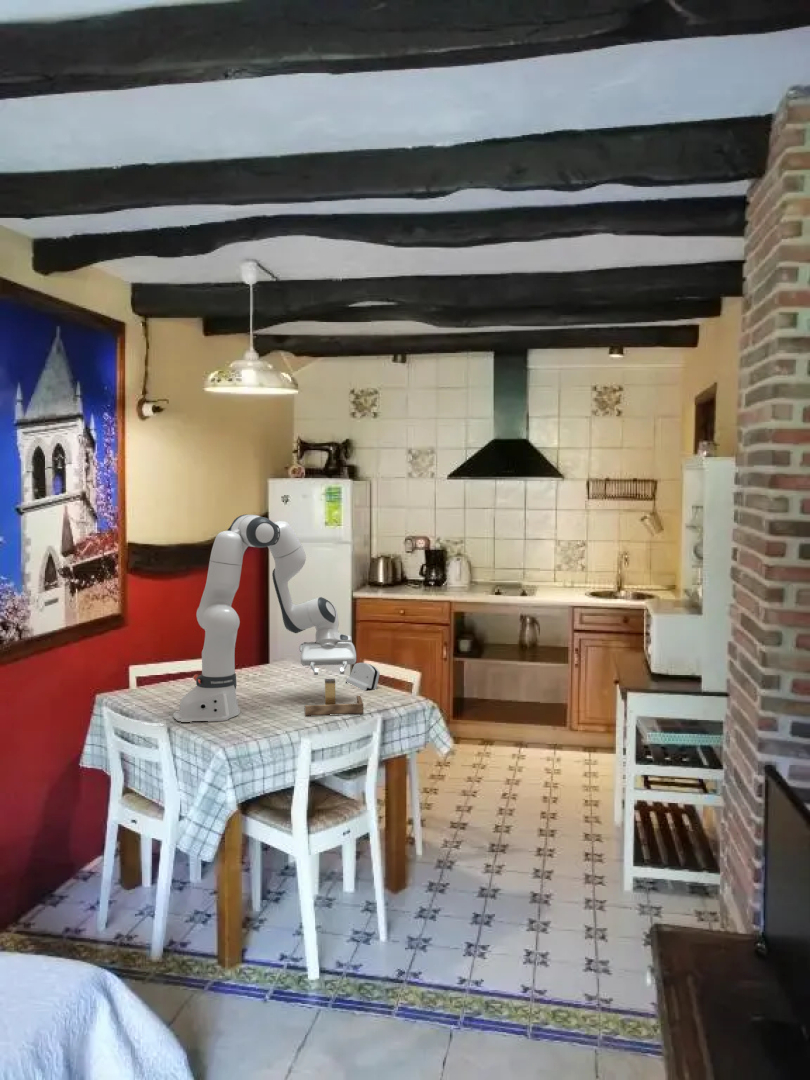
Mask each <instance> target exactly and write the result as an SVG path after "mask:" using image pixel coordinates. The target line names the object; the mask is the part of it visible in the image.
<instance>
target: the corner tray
mask: <svg viewBox="0 0 810 1080" xmlns="http://www.w3.org/2000/svg"><path fill="white" fill-rule="evenodd" d="M304 707H305V708H304V714H305V715H304V716H305V717H312V716H311V715H330V714H354V715H363V714H364V701H363V700H362V697H361V695H356V703H339V704H337V703H335V704H333V705H325V704H316V705H315V704H314V705H313V704H311V705H310V704H309V705H304ZM362 713H363V714H362ZM330 716H331V715H330Z"/></svg>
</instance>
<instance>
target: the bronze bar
mask: <svg viewBox="0 0 810 1080" xmlns="http://www.w3.org/2000/svg"><path fill="white" fill-rule="evenodd" d="M333 704H336V679H335V678H325V679H324V705H333Z"/></svg>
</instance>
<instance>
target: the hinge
mask: <svg viewBox="0 0 810 1080" xmlns="http://www.w3.org/2000/svg"><path fill="white" fill-rule="evenodd" d="M379 678H380V670H378V668H376V667H375V666H374V665H373V664H370V663H367V662H357V663H356V662H355V664H353V667H352V669H351V672H350V674H349V676H348V677H346V679H345V683H346V682H348V683H350V684H352V685H354V686H356V687H358V688H357V689H359V688H360V689H359V690H361V691H363V690H364V692H367V689H372V690H375V689H376V690H377V688H378V683H379ZM352 685H351V686H352ZM354 686H353V687H354ZM356 687H355V688H356ZM376 690H375V691H376Z"/></svg>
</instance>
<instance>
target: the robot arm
mask: <svg viewBox="0 0 810 1080" xmlns="http://www.w3.org/2000/svg"><path fill="white" fill-rule="evenodd" d="M248 547H251V548H252V547H253V548H268V550H270V554H271V556H272V558H273V560H274V565H275V566H274V569H272V581H273V586H274V589H275V593H276V597H277V599H278V600H277V601H278V604H279V607H280V608H279V609H280V611H281V616H282V621H283V625H284V627H285V629H286V630H287V631H289V632H291V633H293V634H298V633H301V632H304V631H305V630H307V629H311V628H313V627H315V631H316V632H315V641H310V642H308V641H306V642H305V641H304V642H303V643H301V644H299V648H298V649H299V652H300V664H301V665H302V666H304V667H305V666H307V667H308V666H309V667H310V669H311V671H313V676H318V675H319V668H316V666H342V667H339V674H340V675H345V670H346V669H347V667H348V665H354V664H356V662H357V651H356V647H355V644H354V643H353V642H352V636H351V635H348V634H343V633H341V632H340V631H339V626H340V625H339V624H340V623H339V615H338V610H337V607H336V606H335V604H334V603H332V602H331V601H329V600H328V599H326V598H325V597H322V596H320V597H316V598H313V599H310V600H308V601H307V600H306V601H304V602H302V603H299V604H294V603H293V599H292V597H291V596H292V595H291V593H290V589H289V586H288V583H289V582H290V581H291V580H292V578H293V577H295V576H296V575H297V574H298V573H300V571H301V570H302V569H303V567H304V566H305V564H306V561H307V557H306V553H305V548H304V547H303V545H302V543H301V540H300V539H299V537H298V535H297V533H296V531H294V529H293V527H292V526H291V525H290V524H289V522H287V521H284V520H278V521H275V522H273V521H272V520H270V519H269V518H267V517H265V516H264V517H263V516H260V515H257V514H247V513H246V514H241V515H239V516H237V517H236V518H235V519H234V520H233V521H232V523H231V525H230V526H229V527H228V529H227V530H224V531H220V532H219V533H218V534H217V535H216V537H215V539H214V542H213V544H212V548H211V552H210V558H209V563H208V570H207V577H206V581H205V582H206V583H205V585H204V586H205V587H204V589H203V593H202V596H201V599H200V602H199V606H198V607H197V609H196V614H195V615H196V620H197V622H198V625H199V626H200V628H202V629H203V630H204V631H205V632H204V643H203V647H202V648H203V649H202V651H201V674H200V675H199V674H196V673H195V674H194V675H193V677H192V679H193V680H194V681H195V683H196V684H195V685H196V686H194V688H192V689H191V690H189V692H186V694H185V695H184V696H182V698H181V700H180V705H179V709H178V710H175V711H174V712H173V715H172V717H174V718H175V719H176V720H178V721H181V722H186V721H208V722H222V721H223V722H224V721H228V720H229V719H231V718H234V717H237V716H238V715H240V714H241V711H240V707H239V703H238V698H237V692H236V691H237V681H238V680H237V673H236V672H235V671H236V669H235V667H236V665H235V663H236V662H235V659H236V658H235V653H236V652H235V650H236V649H235V648H236V642H237V636H238V629H239V627H240V623H241V621H240V616H239V614H238V613H237V611H236V610H235V609H234V608H233V607H232V604H233V601H234V598H235V596H236V593H237V591H238V590H239V587H240V581H241V574H242V567H243V566H242V565H243V560H244V559H243V558H244V555H245V552H246V550H247V548H248ZM174 718H173V719H174ZM176 720H175V721H176ZM181 722H180V723H181Z"/></svg>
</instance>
